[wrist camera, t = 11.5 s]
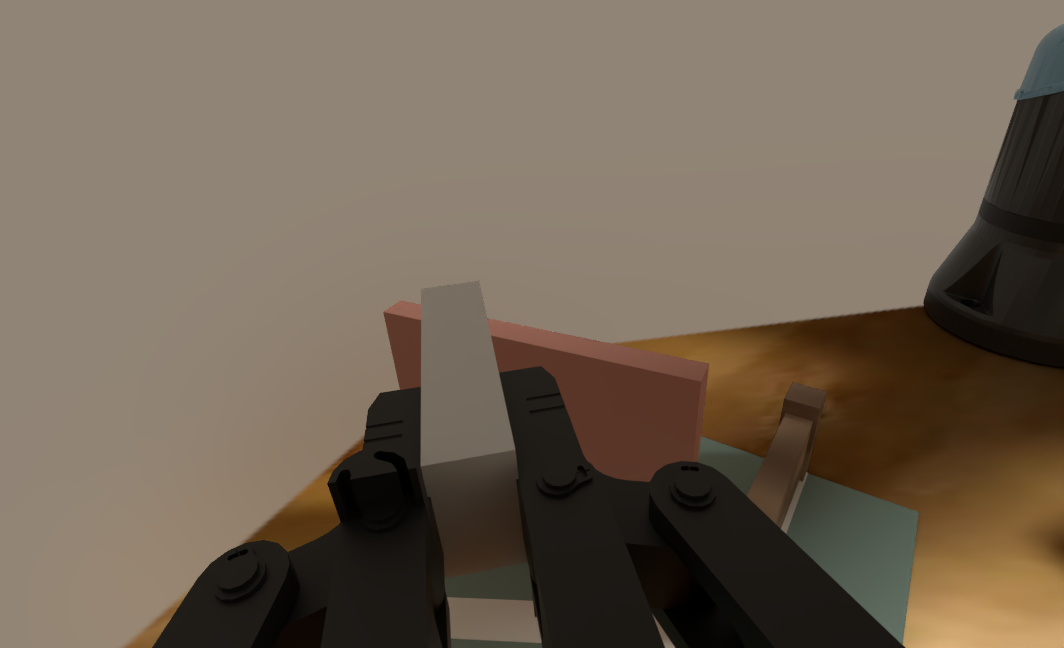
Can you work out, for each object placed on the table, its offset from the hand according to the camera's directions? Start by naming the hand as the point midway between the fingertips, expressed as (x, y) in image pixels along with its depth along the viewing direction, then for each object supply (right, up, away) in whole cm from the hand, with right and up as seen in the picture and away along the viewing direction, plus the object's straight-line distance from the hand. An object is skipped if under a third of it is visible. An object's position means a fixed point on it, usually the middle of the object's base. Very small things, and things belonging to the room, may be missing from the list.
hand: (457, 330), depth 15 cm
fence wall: (+14, -11, +14) cm, 23 cm away
